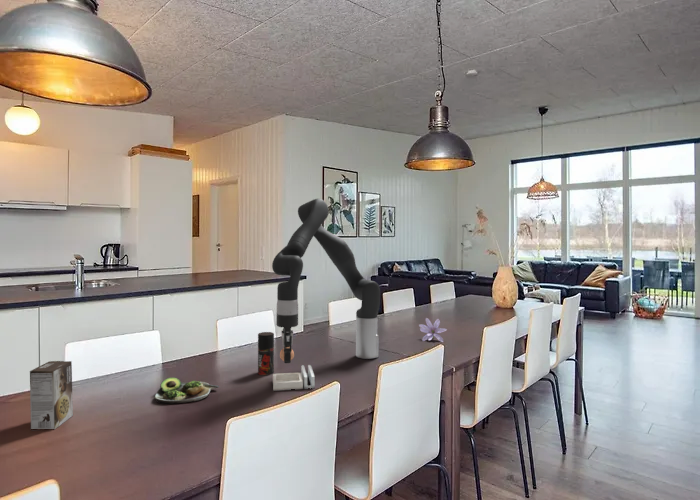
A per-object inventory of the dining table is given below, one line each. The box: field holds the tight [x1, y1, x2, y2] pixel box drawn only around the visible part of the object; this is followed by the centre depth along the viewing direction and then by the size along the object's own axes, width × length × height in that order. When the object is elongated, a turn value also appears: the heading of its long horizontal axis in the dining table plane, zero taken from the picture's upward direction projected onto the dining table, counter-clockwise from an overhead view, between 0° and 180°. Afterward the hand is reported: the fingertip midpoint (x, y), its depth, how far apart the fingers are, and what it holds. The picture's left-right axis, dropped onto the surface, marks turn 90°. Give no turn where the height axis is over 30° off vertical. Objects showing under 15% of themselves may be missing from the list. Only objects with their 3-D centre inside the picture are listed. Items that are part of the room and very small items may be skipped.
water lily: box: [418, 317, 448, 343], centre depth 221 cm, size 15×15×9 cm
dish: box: [272, 371, 304, 392], centre depth 152 cm, size 10×10×3 cm
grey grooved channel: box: [300, 364, 316, 390], centre depth 155 cm, size 4×14×4 cm, turn 11°
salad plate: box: [153, 377, 220, 405], centre depth 143 cm, size 19×18×5 cm
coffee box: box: [29, 360, 74, 430], centre depth 120 cm, size 9×6×16 cm
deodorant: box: [257, 331, 275, 376], centre depth 165 cm, size 6×6×15 cm
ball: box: [279, 347, 295, 362], centre depth 152 cm, size 5×5×5 cm
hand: (287, 360), depth 152 cm, fingers closed on ball, 5 cm apart
